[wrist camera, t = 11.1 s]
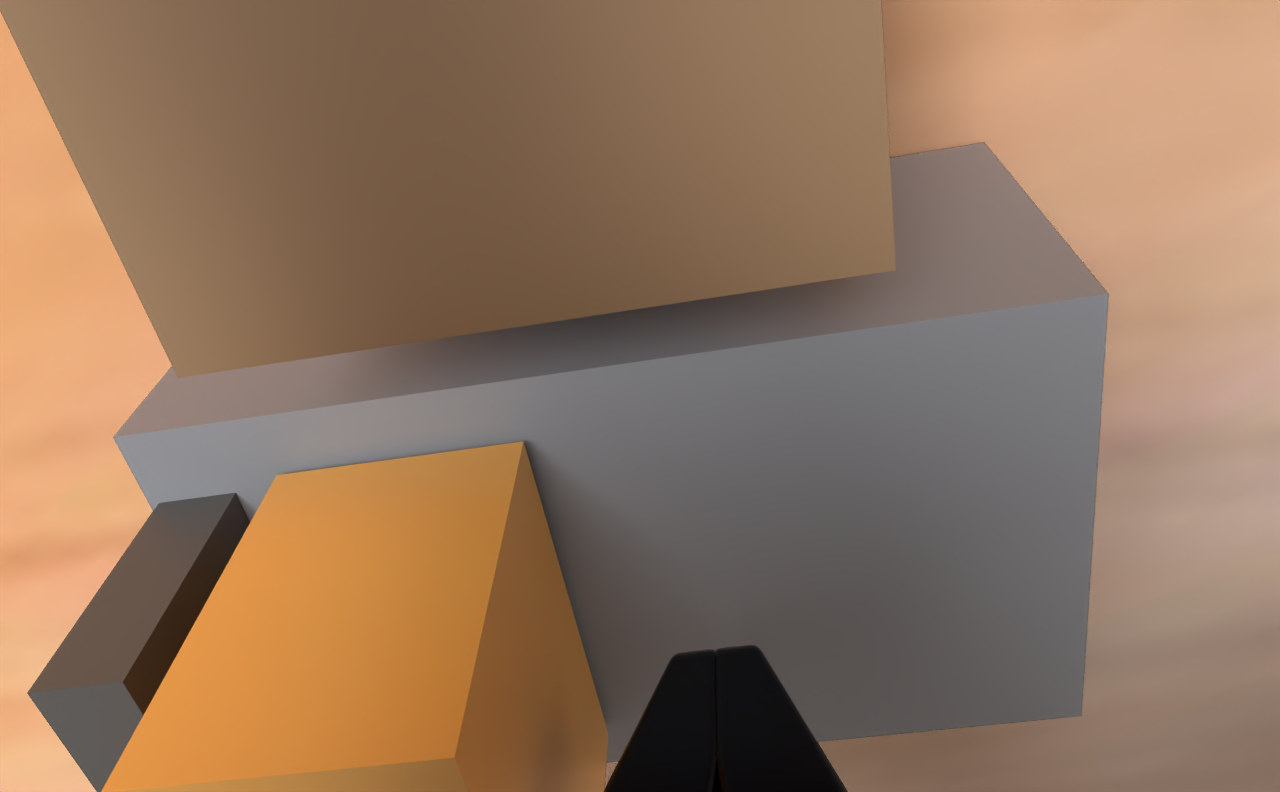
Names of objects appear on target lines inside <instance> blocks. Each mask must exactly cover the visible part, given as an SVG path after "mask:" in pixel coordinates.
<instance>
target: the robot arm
mask: <svg viewBox="0 0 1280 792" xmlns="http://www.w3.org/2000/svg"><path fill="white" fill-rule="evenodd" d="M604 792H848V791H847V790H846V788H845V786H844V785H843V783H842V781H841V780H840V778H839V777H838V775H837V773H836V772H835V770H834V768H833V767H832V765H831V763H830V762H829V760H828V759H827V757H826V755H825V754H824V752H823V750H822V749H821V747H820V745H819V744H818V742H817V740H816V739H815V737H814V736H813V734H812V732H811V731H810V729H809V727H808V726H807V724H806V722H805V721H804V719H803V718H802V716H801V714H800V713H799V711H798V709H797V708H796V706H795V704H794V703H793V701H792V699H791V698H790V696H789V695H788V693H787V691H786V690H785V688H784V686H783V685H782V683H781V681H780V680H779V678H778V677H777V675H776V673H775V672H774V670H773V668H772V667H771V665H770V663H769V662H768V660H767V658H766V657H765V655H764V654H763V652H762V651H761V649H760V648H759V647H757V646H755V645H744V646H735V647H726V648H719V649H717V650H716V651H715V650H713V649H707V650H699V651H690V652H681V653H677V654H675V655H674V656H673V657H672V658H671V659H670V661H669V663H668V665H667V667H666V669H665V671H664V673H663V675H662V677H661V679H660V681H659V683H658V685H657V687H656V689H655V691H654V693H653V694H652V696H651V698H650V700H649V702H648V704H647V706H646V708H645V710H644V712H643V714H642V716H641V718H640V720H639V722H638V724H637V726H636V728H635V730H634V732H633V734H632V736H631V738H630V740H629V742H628V744H627V746H626V748H625V750H624V752H623V754H622V756H621V758H620V760H619V762H618V764H617V766H616V768H615V770H614V772H613V774H612V776H611V778H610V780H609V782H608V784H607V786H606V788H605V790H604Z"/></svg>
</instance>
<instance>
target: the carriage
mask: <svg viewBox="0 0 1280 792" xmlns="http://www.w3.org/2000/svg"><path fill="white" fill-rule="evenodd" d="M0 12H1V14H2V16H3V18H4V20H5V22H6V24H7V26H8V28H9V30H10V32H11V34H12V36H13V38H14V40H15V43H16V45H17V47H18V49H19V51H20V53H21V55H22V57H23V59H24V61H25V63H26V65H27V67H28V69H29V71H30V73H31V76H32V78H33V80H34V82H35V84H36V86H37V88H38V90H39V92H40V94H41V96H42V98H43V100H44V102H45V104H46V106H47V109H48V111H49V113H50V115H51V117H52V119H53V121H54V123H55V125H56V127H57V129H58V131H59V133H60V135H61V137H62V140H63V142H64V144H65V146H66V148H67V150H68V152H69V154H70V156H71V158H72V160H73V162H74V164H75V166H76V168H77V170H78V173H79V175H80V177H81V179H82V181H83V183H84V185H85V187H86V189H87V191H88V193H89V195H90V197H91V199H92V201H93V203H94V206H95V208H96V210H97V212H98V214H99V216H100V218H101V220H102V222H103V224H104V226H105V228H106V230H107V232H108V234H109V236H110V239H111V241H112V243H113V245H114V247H115V249H116V251H117V253H118V255H119V257H120V259H121V261H122V263H123V265H124V267H125V270H126V272H127V274H128V276H129V278H130V280H131V282H132V284H133V286H134V288H135V290H136V292H137V294H138V296H139V298H140V300H141V303H142V305H143V307H144V309H145V311H146V313H147V315H148V317H149V319H150V321H151V323H152V325H153V327H154V329H155V331H156V333H157V336H158V338H159V340H160V342H161V344H162V346H163V348H164V350H165V352H166V354H167V356H168V358H169V360H170V362H171V364H172V366H173V369H174V371H175V373H176V375H177V377H178V378H182V377H188V376H195V375H202V374H208V373H215V372H222V371H228V370H235V369H242V368H248V367H255V366H262V365H268V364H275V363H282V362H288V361H295V360H302V359H308V358H315V357H322V356H328V355H335V354H341V353H348V352H355V351H361V350H368V349H375V348H381V347H388V346H395V345H401V344H408V343H415V342H421V341H428V340H435V339H441V338H448V337H455V336H461V335H468V334H475V333H481V332H488V331H495V330H501V329H508V328H515V327H521V326H528V325H535V324H541V323H548V322H555V321H561V320H568V319H575V318H581V317H588V316H595V315H601V314H608V313H615V312H621V311H628V310H634V309H641V308H648V307H654V306H661V305H668V304H674V303H681V302H688V301H694V300H701V299H708V298H714V297H721V296H728V295H734V294H741V293H748V292H754V291H761V290H768V289H774V288H781V287H788V286H794V285H801V284H808V283H814V282H821V281H828V280H834V279H841V278H848V277H854V276H861V275H868V274H874V273H881V272H888V271H894V270H896V261H895V243H894V225H893V207H892V189H891V170H890V152H889V134H888V116H887V98H886V79H885V61H884V43H883V25H882V6H881V0H0Z"/></svg>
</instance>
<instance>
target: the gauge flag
mask: <svg viewBox="0 0 1280 792" xmlns="http://www.w3.org/2000/svg"><path fill="white" fill-rule="evenodd" d="M607 747H608V730H607V727H606V724H605V720H604V717H603V713H602V710H601V706H600V703H599V699H598V696H597V693H596V689H595V686H594V682H593V679H592V675H591V672H590V668H589V665H588V662H587V658H586V655H585V651H584V648H583V644H582V641H581V637H580V634H579V631H578V627H577V624H576V620H575V617H574V613H573V610H572V607H571V603H570V600H569V596H568V593H567V589H566V586H565V582H564V579H563V576H562V572H561V569H560V565H559V562H558V558H557V555H556V551H555V548H554V545H553V541H552V538H551V534H550V531H549V527H548V524H547V520H546V517H545V514H544V510H543V507H542V503H541V500H540V496H539V493H538V489H537V486H536V483H535V479H534V476H533V472H532V469H531V465H530V462H529V458H528V455H527V452H526V448H525V445H524V441H523V442H515V443H508V444H501V445H493V446H486V447H479V448H471V449H464V450H457V451H450V452H442V453H435V454H428V455H420V456H413V457H406V458H398V459H391V460H384V461H376V462H369V463H362V464H354V465H347V466H340V467H332V468H325V469H318V470H310V471H303V472H296V473H289V474H281V475H276V477H275V479H274V481H273V482H272V484H271V486H270V488H269V490H268V492H267V493H266V495H265V497H264V499H263V501H262V502H261V504H260V506H259V508H258V510H257V511H256V513H255V515H254V517H253V519H252V520H251V522H250V524H249V526H248V528H247V529H246V531H245V533H244V535H243V537H242V538H241V540H240V542H239V544H238V546H237V547H236V549H235V551H234V553H233V555H232V556H231V558H230V560H229V562H228V564H227V565H226V567H225V569H224V571H223V573H222V575H221V576H220V578H219V580H218V582H217V584H216V585H215V587H214V589H213V591H212V593H211V594H210V596H209V598H208V600H207V602H206V603H205V605H204V607H203V609H202V611H201V612H200V614H199V616H198V618H197V620H196V621H195V623H194V625H193V627H192V629H191V630H190V632H189V634H188V636H187V638H186V639H185V641H184V643H183V645H182V647H181V649H180V650H179V652H178V654H177V656H176V658H175V659H174V661H173V663H172V665H171V667H170V668H169V670H168V672H167V674H166V676H165V677H164V679H163V681H162V683H161V685H160V686H159V688H158V690H157V692H156V694H155V695H154V697H153V699H152V701H151V703H150V704H149V706H148V708H147V710H146V712H145V713H144V715H143V717H142V719H141V721H140V723H139V724H138V726H137V728H136V730H135V732H134V733H133V735H132V737H131V739H130V741H129V742H128V744H127V746H126V748H125V750H124V751H123V753H122V755H121V757H120V759H119V760H118V762H117V764H116V766H115V768H114V769H113V771H112V773H111V775H110V777H109V778H108V780H107V782H106V784H105V786H104V787H103V789H102V791H101V792H604V790H605V778H606V762H607Z"/></svg>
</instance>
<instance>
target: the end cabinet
mask: <svg viewBox="0 0 1280 792" xmlns="http://www.w3.org/2000/svg"><path fill="white" fill-rule="evenodd" d="M890 170H891V189H892V207H893V225H894V243H895V261H896V270H894V271H888V272H881V273H874V274H868V275H861V276H854V277H848V278H841V279H834V280H828V281H821V282H814V283H808V284H801V285H794V286H788V287H781V288H774V289H768V290H761V291H754V292H748V293H741V294H734V295H728V296H721V297H714V298H708V299H701V300H694V301H688V302H681V303H674V304H668V305H661V306H654V307H648V308H641V309H634V310H628V311H621V312H615V313H608V314H601V315H595V316H588V317H581V318H575V319H568V320H561V321H555V322H548V323H541V324H535V325H528V326H521V327H515V328H508V329H501V330H495V331H488V332H481V333H475V334H468V335H461V336H455V337H448V338H441V339H435V340H428V341H421V342H415V343H408V344H401V345H395V346H388V347H381V348H375V349H368V350H361V351H355V352H348V353H341V354H335V355H328V356H322V357H315V358H308V359H302V360H295V361H288V362H282V363H275V364H268V365H262V366H255V367H248V368H242V369H235V370H228V371H222V372H215V373H208V374H202V375H195V376H188V377H182V378H178V377H177V375H176V373H175V371H174V369H173V366H172V367H171V368H170V369H169V370H168V372H167V373H166V374H165V375H164V376H163V378H162V379H161V380H160V381H159V382H158V384H157V385H156V386H155V387H154V389H153V390H152V391H151V392H150V393H149V395H148V396H147V397H146V398H145V399H144V401H143V402H142V403H141V404H140V405H139V407H138V408H137V409H136V410H135V411H134V413H133V414H132V415H131V416H130V418H129V419H128V420H127V421H126V422H125V424H124V425H123V426H122V427H121V428H120V430H119V431H118V432H117V433H116V434H115V436H114V437H113V438H114V440H115V442H116V444H117V445H118V447H119V449H120V451H121V453H122V455H123V456H124V458H125V460H126V462H127V464H128V466H129V468H130V469H131V471H132V473H133V475H134V477H135V479H136V480H137V482H138V484H139V486H140V488H141V490H142V492H143V493H144V495H145V497H146V499H147V501H148V503H149V504H150V506H151V508H152V510H153V512H152V514H151V515H150V517H149V518H148V519H147V521H146V522H145V524H144V525H143V527H142V528H141V530H140V531H139V532H138V534H137V535H136V537H135V538H134V540H133V541H132V543H131V544H130V545H129V547H128V548H127V550H126V551H125V553H124V554H123V556H122V557H121V558H120V560H119V561H118V563H117V564H116V566H115V567H114V569H113V570H112V572H111V573H110V574H109V576H108V577H107V579H106V580H105V582H104V583H103V585H102V586H101V587H100V589H99V590H98V592H97V593H96V595H95V596H94V598H93V599H92V600H91V602H90V603H89V605H88V606H87V608H86V609H85V611H84V612H83V613H82V615H81V616H80V618H79V619H78V621H77V622H76V624H75V625H74V626H73V628H72V629H71V631H70V632H69V634H68V635H67V637H66V638H65V639H64V641H63V642H62V644H61V645H60V647H59V648H58V650H57V651H56V652H55V654H54V655H53V657H52V658H51V660H50V661H49V663H48V664H47V665H46V667H45V668H44V670H43V671H42V673H41V674H40V676H39V677H38V678H37V680H36V681H35V683H34V684H33V686H32V687H31V689H30V690H29V691H28V695H29V696H30V698H31V699H32V701H33V702H34V703H35V705H36V706H37V708H38V709H39V710H40V712H41V713H42V715H43V716H44V718H45V719H46V720H47V722H48V723H49V725H50V726H51V727H52V729H53V730H54V732H55V733H56V734H57V736H58V737H59V739H60V740H61V742H62V743H63V744H64V746H65V747H66V749H67V750H68V751H69V753H70V754H71V756H72V757H73V759H74V760H75V761H76V763H77V764H78V766H79V767H80V768H81V770H82V771H83V773H84V774H85V776H86V777H87V778H88V780H89V781H90V783H91V784H92V785H93V787H94V788H95V790H96V791H97V792H101V791H102V789H103V787H104V786H105V784H106V782H107V780H108V778H109V777H110V775H111V773H112V771H113V769H114V768H115V766H116V764H117V762H118V760H119V759H120V757H121V755H122V753H123V751H124V750H125V748H126V746H127V744H128V742H129V741H130V739H131V737H132V735H133V733H134V732H135V730H136V728H137V726H138V724H139V723H140V721H141V719H142V717H143V715H144V713H145V712H146V710H147V708H148V706H149V704H150V703H151V701H152V699H153V697H154V695H155V694H156V692H157V690H158V688H159V686H160V685H161V683H162V681H163V679H164V677H165V676H166V674H167V672H168V670H169V668H170V667H171V665H172V663H173V661H174V659H175V658H176V656H177V654H178V652H179V650H180V649H181V647H182V645H183V643H184V641H185V639H186V638H187V636H188V634H189V632H190V630H191V629H192V627H193V625H194V623H195V621H196V620H197V618H198V616H199V614H200V612H201V611H202V609H203V607H204V605H205V603H206V602H207V600H208V598H209V596H210V594H211V593H212V591H213V589H214V587H215V585H216V584H217V582H218V580H219V578H220V576H221V575H222V573H223V571H224V569H225V567H226V565H227V564H228V562H229V560H230V558H231V556H232V555H233V553H234V551H235V549H236V547H237V546H238V544H239V542H240V540H241V538H242V537H243V535H244V533H245V531H246V529H247V528H248V526H249V524H250V522H251V520H252V519H253V517H254V515H255V513H256V511H257V510H258V508H259V506H260V504H261V502H262V501H263V499H264V497H265V495H266V493H267V492H268V490H269V488H270V486H271V484H272V482H273V481H274V479H275V477H276V475H281V474H289V473H296V472H303V471H310V470H318V469H325V468H332V467H340V466H347V465H354V464H362V463H369V462H376V461H384V460H391V459H398V458H406V457H413V456H420V455H428V454H435V453H442V452H450V451H457V450H464V449H471V448H479V447H486V446H493V445H501V444H508V443H515V442H523V441H524V445H525V448H526V452H527V455H528V458H529V462H530V465H531V469H532V472H533V476H534V479H535V483H536V486H537V489H538V493H539V496H540V500H541V503H542V507H543V510H544V514H545V517H546V520H547V524H548V527H549V531H550V534H551V538H552V541H553V545H554V548H555V551H556V555H557V558H558V562H559V565H560V569H561V572H562V576H563V579H564V582H565V586H566V589H567V593H568V596H569V600H570V603H571V607H572V610H573V613H574V617H575V620H576V624H577V627H578V631H579V634H580V637H581V641H582V644H583V648H584V651H585V655H586V658H587V662H588V665H589V668H590V672H591V675H592V679H593V682H594V686H595V689H596V693H597V696H598V699H599V703H600V706H601V710H602V713H603V717H604V720H605V724H606V727H607V730H608V747H607V762H616V761H619V760H620V758H621V756H622V754H623V752H624V750H625V748H626V746H627V744H628V742H629V740H630V738H631V736H632V734H633V732H634V730H635V728H636V726H637V724H638V722H639V720H640V718H641V716H642V714H643V712H644V710H645V708H646V706H647V704H648V702H649V700H650V698H651V696H652V694H653V693H654V691H655V689H656V687H657V685H658V683H659V681H660V679H661V677H662V675H663V673H664V671H665V669H666V667H667V665H668V663H669V661H670V659H671V658H672V657H673V656H674V655H675V654H677V653H681V652H690V651H699V650H707V649H713V650H715V651H716V650H717V649H719V648H726V647H735V646H744V645H755V646H757V647H759V648H760V649H761V651H762V652H763V654H764V655H765V657H766V658H767V660H768V662H769V663H770V665H771V667H772V668H773V670H774V672H775V673H776V675H777V677H778V678H779V680H780V681H781V683H782V685H783V686H784V688H785V690H786V691H787V693H788V695H789V696H790V698H791V699H792V701H793V703H794V704H795V706H796V708H797V709H798V711H799V713H800V714H801V716H802V718H803V719H804V721H805V722H806V724H807V726H808V727H809V729H810V731H811V732H812V734H813V736H814V737H815V739H816V740H817V742H820V741H830V740H841V739H851V738H861V737H871V736H881V735H892V734H902V733H912V732H922V731H932V730H943V729H953V728H963V727H973V726H983V725H994V724H1004V723H1014V722H1024V721H1034V720H1045V719H1055V718H1065V717H1075V716H1081V715H1082V699H1083V684H1084V668H1085V653H1086V637H1087V622H1088V606H1089V591H1090V575H1091V560H1092V544H1093V529H1094V514H1095V498H1096V483H1097V467H1098V452H1099V436H1100V421H1101V405H1102V390H1103V374H1104V359H1105V343H1106V328H1107V312H1108V297H1109V294H1108V292H1107V291H1106V290H1105V289H1104V288H1103V286H1102V285H1101V284H1100V283H1099V281H1098V280H1097V279H1096V278H1095V277H1094V275H1093V274H1092V273H1091V272H1090V270H1089V269H1088V268H1087V267H1086V266H1085V264H1084V263H1083V262H1082V261H1081V260H1080V258H1079V257H1078V256H1077V255H1076V253H1075V252H1074V251H1073V250H1072V249H1071V247H1070V246H1069V245H1068V244H1067V242H1066V241H1065V240H1064V239H1063V238H1062V236H1061V235H1060V234H1059V233H1058V231H1057V230H1056V229H1055V228H1054V227H1053V225H1052V224H1051V223H1050V222H1049V220H1048V219H1047V218H1046V217H1045V216H1044V214H1043V213H1042V212H1041V211H1040V210H1039V208H1038V207H1037V206H1036V205H1035V203H1034V202H1033V201H1032V200H1031V199H1030V197H1029V196H1028V195H1027V194H1026V192H1025V191H1024V190H1023V189H1022V188H1021V186H1020V185H1019V184H1018V183H1017V181H1016V180H1015V179H1014V178H1013V177H1012V175H1011V174H1010V173H1009V172H1008V170H1007V169H1006V168H1005V167H1004V166H1003V164H1002V163H1001V162H1000V161H999V160H998V158H997V157H996V156H995V155H994V153H993V152H992V151H991V150H990V149H989V147H988V146H987V145H986V144H985V142H983V143H977V144H971V145H965V146H959V147H953V148H947V149H941V150H934V151H928V152H922V153H916V154H910V155H904V156H898V157H891V158H890Z"/></svg>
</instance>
